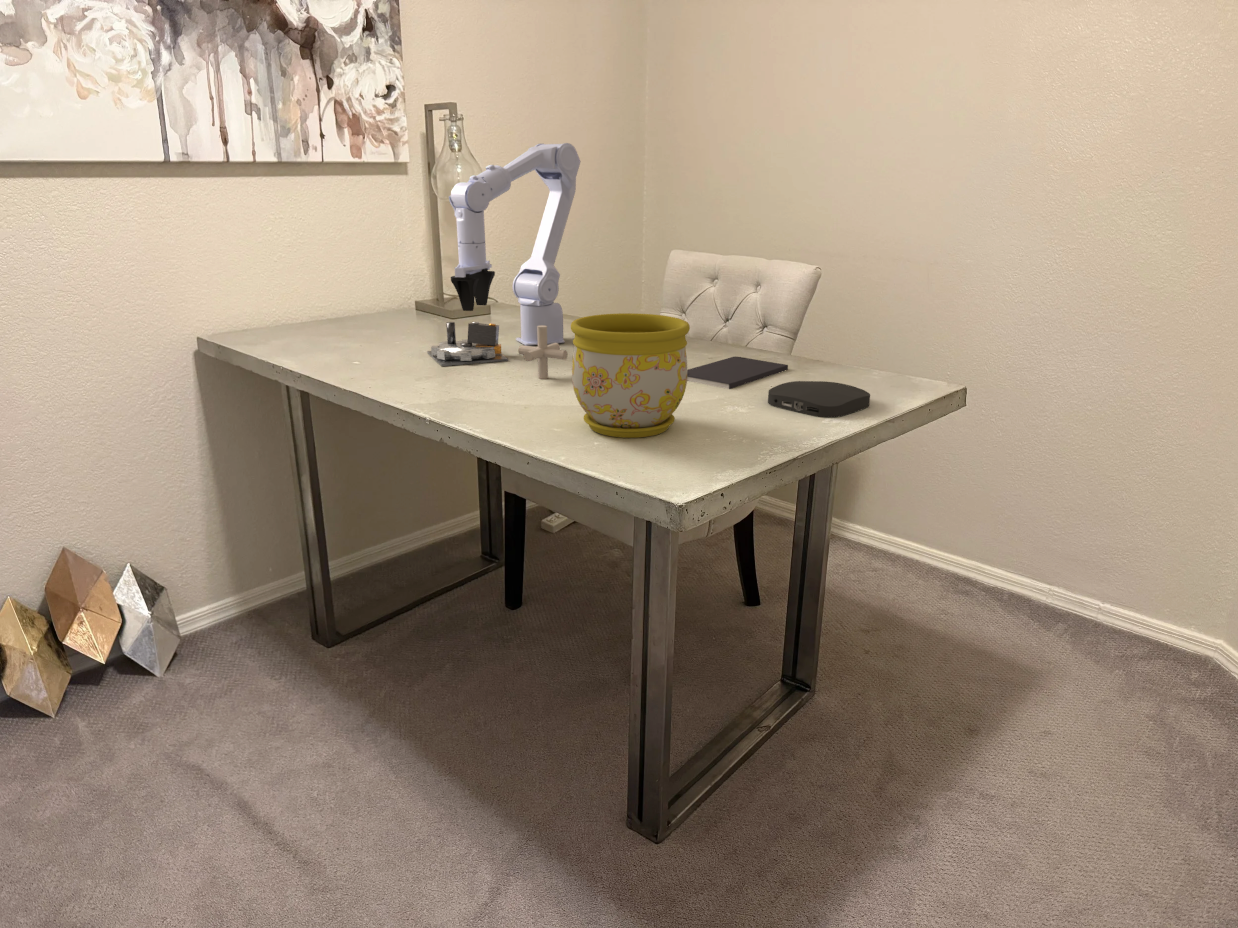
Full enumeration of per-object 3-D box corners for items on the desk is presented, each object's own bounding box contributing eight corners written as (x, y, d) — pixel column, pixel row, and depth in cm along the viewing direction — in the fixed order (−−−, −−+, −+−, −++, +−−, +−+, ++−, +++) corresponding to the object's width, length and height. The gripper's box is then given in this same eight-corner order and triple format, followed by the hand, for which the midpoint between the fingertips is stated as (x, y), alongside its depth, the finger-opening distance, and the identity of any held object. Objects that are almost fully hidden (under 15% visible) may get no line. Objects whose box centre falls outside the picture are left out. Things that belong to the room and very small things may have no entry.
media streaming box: (877, 406, 147) (879, 389, 146) (830, 422, 138) (832, 404, 137) (806, 390, 157) (808, 375, 156) (758, 405, 148) (759, 388, 147)
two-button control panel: (498, 344, 183) (499, 324, 182) (495, 345, 180) (496, 325, 179) (470, 340, 183) (471, 321, 182) (467, 342, 180) (468, 322, 179)
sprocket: (467, 344, 191) (466, 316, 189) (515, 352, 183) (514, 324, 181) (417, 354, 180) (415, 325, 178) (465, 364, 172) (464, 334, 170)
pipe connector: (507, 380, 162) (505, 328, 159) (535, 370, 170) (534, 320, 167) (551, 386, 158) (550, 332, 154) (578, 375, 166) (578, 324, 163)
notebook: (729, 392, 157) (787, 372, 172) (729, 383, 156) (788, 364, 172) (674, 381, 165) (734, 363, 180) (674, 373, 164) (735, 356, 179)
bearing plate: (490, 348, 190) (490, 346, 190) (508, 361, 178) (507, 358, 178) (427, 353, 185) (427, 351, 185) (441, 366, 173) (441, 364, 173)
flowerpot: (680, 410, 143) (683, 313, 137) (692, 444, 126) (696, 333, 120) (572, 411, 142) (571, 312, 137) (570, 444, 125) (569, 333, 120)
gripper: (476, 246, 170) (479, 314, 175) (501, 240, 183) (504, 303, 188) (443, 245, 172) (447, 312, 176) (471, 239, 185) (474, 302, 189)
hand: (474, 307), depth 182 cm, fingers open, 7 cm apart
